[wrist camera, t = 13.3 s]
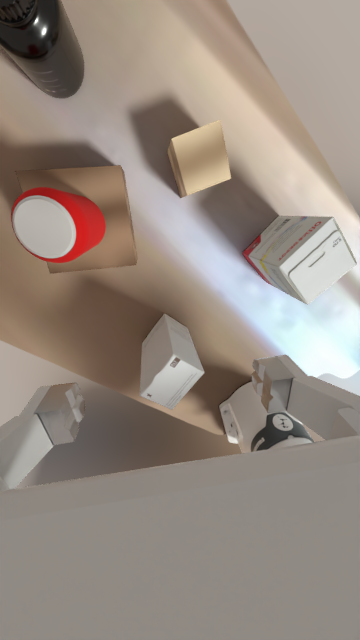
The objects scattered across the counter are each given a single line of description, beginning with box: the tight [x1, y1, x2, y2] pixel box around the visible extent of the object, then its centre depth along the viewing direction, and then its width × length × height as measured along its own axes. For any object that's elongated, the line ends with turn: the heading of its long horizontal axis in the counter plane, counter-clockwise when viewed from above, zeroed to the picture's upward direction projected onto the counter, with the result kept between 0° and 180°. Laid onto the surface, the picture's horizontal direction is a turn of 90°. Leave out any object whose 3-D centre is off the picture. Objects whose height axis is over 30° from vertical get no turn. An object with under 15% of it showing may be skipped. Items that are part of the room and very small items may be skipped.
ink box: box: [243, 216, 357, 305], centre depth 33 cm, size 9×9×12 cm
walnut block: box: [15, 165, 137, 273], centre depth 30 cm, size 12×12×5 cm
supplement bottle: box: [0, 0, 84, 98], centre depth 20 cm, size 7×7×12 cm
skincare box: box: [140, 314, 204, 410], centre depth 36 cm, size 8×6×15 cm
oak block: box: [167, 120, 231, 198], centre depth 29 cm, size 6×6×6 cm
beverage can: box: [11, 187, 106, 263], centre depth 23 cm, size 6×6×12 cm
